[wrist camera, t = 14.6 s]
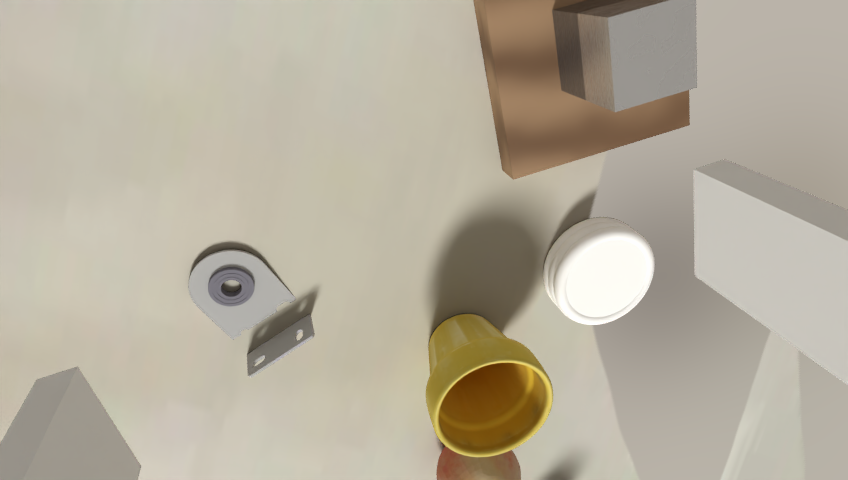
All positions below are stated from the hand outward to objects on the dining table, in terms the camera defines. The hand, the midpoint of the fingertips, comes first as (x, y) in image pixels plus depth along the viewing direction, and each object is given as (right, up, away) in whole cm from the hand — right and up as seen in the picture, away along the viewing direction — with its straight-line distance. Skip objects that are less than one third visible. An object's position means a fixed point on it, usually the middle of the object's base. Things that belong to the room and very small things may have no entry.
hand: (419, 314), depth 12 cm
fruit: (+5, -20, +50) cm, 54 cm away
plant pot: (+4, -8, +44) cm, 45 cm away
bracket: (-15, -4, +38) cm, 41 cm away
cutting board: (+12, +18, +34) cm, 41 cm away
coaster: (+16, -1, +44) cm, 47 cm away
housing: (+13, +17, +32) cm, 39 cm away
